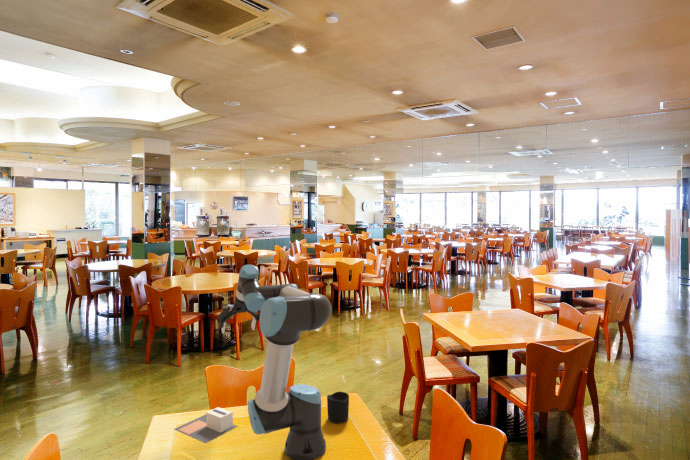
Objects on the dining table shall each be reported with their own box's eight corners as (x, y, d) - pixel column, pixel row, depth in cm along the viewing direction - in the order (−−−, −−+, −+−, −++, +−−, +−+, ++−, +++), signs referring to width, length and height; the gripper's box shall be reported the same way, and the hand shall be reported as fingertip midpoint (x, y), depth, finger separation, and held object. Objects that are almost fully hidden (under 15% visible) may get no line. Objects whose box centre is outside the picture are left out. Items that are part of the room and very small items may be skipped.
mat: (238, 427, 173) (238, 425, 173) (205, 444, 160) (205, 442, 160) (206, 415, 184) (206, 413, 184) (174, 430, 171) (174, 428, 171)
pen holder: (349, 424, 176) (349, 400, 176) (326, 424, 176) (326, 400, 176) (348, 414, 185) (348, 391, 185) (327, 414, 185) (327, 391, 185)
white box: (232, 426, 173) (232, 411, 172) (221, 432, 168) (220, 417, 167) (218, 421, 178) (218, 406, 177) (206, 426, 173) (206, 411, 172)
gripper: (270, 287, 188) (262, 320, 200) (213, 292, 177) (208, 326, 188) (274, 299, 183) (266, 332, 194) (216, 304, 171) (210, 339, 183)
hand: (237, 329), depth 191 cm, fingers open, 13 cm apart
